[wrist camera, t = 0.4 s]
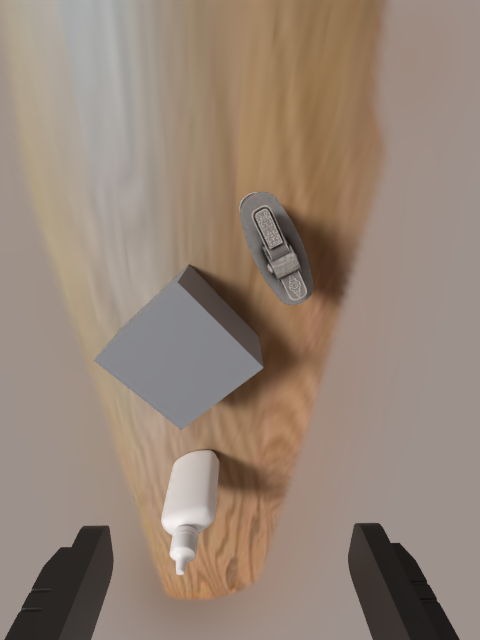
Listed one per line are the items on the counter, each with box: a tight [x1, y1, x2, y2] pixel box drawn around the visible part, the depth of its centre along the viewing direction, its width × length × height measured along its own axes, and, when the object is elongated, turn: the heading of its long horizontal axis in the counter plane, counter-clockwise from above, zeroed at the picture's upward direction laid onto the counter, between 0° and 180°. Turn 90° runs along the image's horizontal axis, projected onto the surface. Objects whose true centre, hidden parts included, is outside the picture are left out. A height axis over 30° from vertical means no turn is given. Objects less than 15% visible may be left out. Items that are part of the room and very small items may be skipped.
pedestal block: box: [94, 265, 264, 430], centre depth 28 cm, size 10×10×6 cm
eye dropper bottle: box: [161, 450, 219, 575], centre depth 32 cm, size 4×6×12 cm
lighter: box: [239, 192, 314, 305], centre depth 22 cm, size 8×3×10 cm, turn 27°
